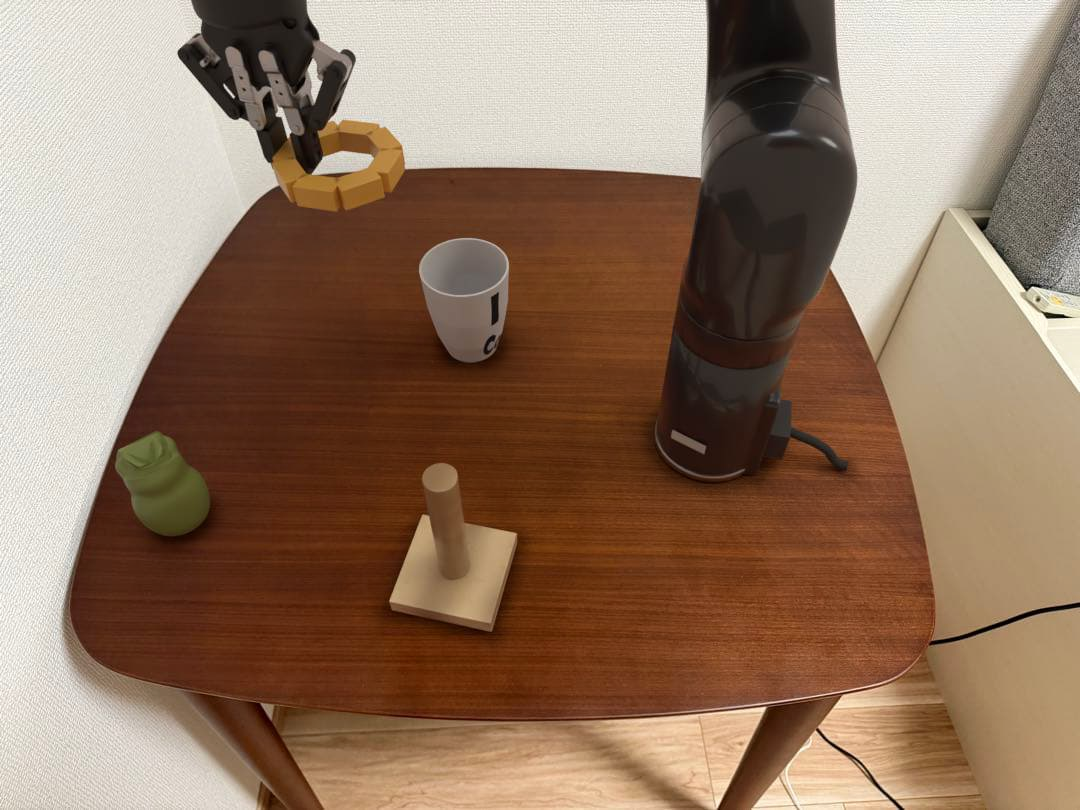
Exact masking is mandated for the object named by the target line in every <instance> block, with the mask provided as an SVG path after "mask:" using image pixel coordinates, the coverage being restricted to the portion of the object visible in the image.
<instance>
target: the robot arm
mask: <svg viewBox="0 0 1080 810" xmlns="http://www.w3.org/2000/svg"><path fill="white" fill-rule="evenodd" d="M190 2H191V5H192V8H193V10H194V13H195V14H196V16H197V17H198V18H199V20H201V24H200V32H196V33H195V34H194V35H192V36H191V38H189V40H188V41H186V42H185V43H184V44H183V45H182V46H181V47H180V48H178V49H177V53H176V54H177V57H178V59H179V60H180V61H181V63H182V64H183V65H184V66H185V67H186V68H187V70H188V71H189V72H190V73H191V74H192V75H193V77H194V78H195V80H196V81H197V82H198V83H199V84H200V85H201V87H202V88H203V89H204V90H205V91H206V93H208V95H209V96H210V97H211V98H212V100H213V101H214V102H215V103H216V104H217V105H218V107H219V108H220V109H221V110H222V111H223V112H224V114H226V116H227V117H228V118H229V119H231V120H233V121H238V120H240V119H242V120H244V121H246V122H248V123H249V125H250V126H251V128H253V129H254V130H255V133H256V136H257V138H258V142H259V145H260V149H261V152H262V155H263V157H264V158H263V159H265V161H266V162H267V164H270V166H271V169H272V170H273V171H274V169H273V166H272V163H273V156H274V155H275V154H276V153H277V152H278V151H279V149H280V148H281V147H282V146H283V144H284V143H285V142H286V141H287V140H288V138H289V137H290V139H291V143H292V146H293V150H294V153H295V157H296V159H297V161H298V163H299V164H300V165H301V167H302V168H303V170H304V171H305V172H306V174H311V175H313V173H314V171H315V170H316V169H317V168H318V166H319V165H320V163H321V162H322V161H323V158H324V157H323V151H322V148H321V144H320V139H319V135H318V131H321V130H323V129H324V128H325V126H326V124H327V122H330V120H331V119H332V117H334V116H335V115H336V113H337V112H338V110H339V106H340V104H341V101H342V98H343V96H344V93H345V91H346V88H347V86H348V83H349V80H350V78H351V75H352V72H353V70H354V67H355V65H356V61H357V58H356V54H354V52H353V51H352V50H350V49H349V48H344V49H342V50H341V51H340V52H339V51H337V50H336V49H334V48H332V46H329V45H328V44H326V43H325V42H323V41H322V40H321V37H320V33H319V30H318V29H317V27H316V26H315V25H314V23H313V21H312V20H311V17H310V15H309V13H308V1H307V0H190ZM705 13H706V14H705V15H706V16H705V17H706V76H705V94H704V95H705V97H704V98H705V99H704V112H703V120H702V128H701V142H700V144H701V146H700V150H701V151H700V186H699V193H698V199H697V205H696V212H695V218H694V223H693V224H694V225H693V230H692V235H691V240H690V246H689V251H688V254H687V256H686V258H685V260H684V261H683V265H682V270H681V277H680V283H679V290H678V295H677V302H676V307H675V315H674V318H673V319H674V320H673V326H672V331H671V338H670V343H669V348H668V354H667V355H668V356H667V361H666V367H665V372H664V373H665V374H664V378H663V383H662V384H663V385H662V390H661V395H660V402H659V408H658V413H657V418H656V420H655V421H656V422H655V424H654V425H655V426H654V434H653V440H654V444H655V447H656V450H657V452H658V454H659V455H660V457H661V458H662V460H663V461H664V462H665V463H666V464H667V465H668V466H669V467H670V468H671V469H673V470H674V471H676V472H677V473H679V474H680V475H682V476H684V477H687V478H690V479H692V480H696V481H700V482H705V483H722V482H723V483H724V482H727V481H732V480H734V479H737V478H739V477H741V476H743V475H747V476H753V477H755V476H756V475H758V471H759V468H760V466H761V463H762V460H763V457H765V458H772V459H776V460H783V458H784V456H785V453H786V451H787V447H788V445H789V442H790V439H791V438H792V439H794V440H796V441H799V442H801V443H804V444H806V445H808V446H810V447H813V448H814V449H816V450H817V451H819V452H821V453H822V454H823V455H824V456H825V457H826V459H827V460H828V462H829V463H830V464H831V465H832V466H833V467H835V468H836V469H838V470H841V471H847V470H848V466H849V461H848V460H843V459H841V458H839V456H838V455H837V453H836V452H835V450H834V449H833V448H832V447H831V446H830V445H829V444H827V442H825V441H823V440H821V439H819V438H817V437H816V436H814V435H811V434H809V433H807V432H805V431H802V430H799V429H798V428H795V427H792V410H793V409H792V408H793V406H792V405H793V401H792V400H788V399H783V398H782V383H783V380H784V376H785V373H786V370H787V367H788V364H789V361H790V358H791V354H792V352H793V348H794V346H795V343H796V340H797V338H798V337H797V336H798V334H799V331H800V327H801V325H802V322H803V319H804V315H805V313H806V310H807V307H808V306H809V305H811V303H813V301H814V300H815V299H816V298H817V297H818V295H819V294H820V293H821V290H822V288H823V287H824V284H825V281H826V279H827V276H828V274H829V271H830V269H831V266H832V264H833V261H834V259H835V256H836V254H837V251H838V249H839V246H840V243H841V241H842V238H843V236H844V233H845V231H846V228H847V225H848V222H849V219H850V216H851V213H852V210H853V207H854V202H855V199H856V193H857V189H858V188H857V187H858V176H859V175H858V165H857V161H856V156H855V149H854V145H853V139H852V134H851V129H850V123H849V119H848V114H847V109H846V105H845V101H844V97H843V93H842V86H841V78H840V69H839V60H838V59H839V57H838V45H837V24H836V23H837V22H836V0H705ZM313 60H314V61H315V64H316V74H317V75H316V76H317V79H318V81H320V82H321V84H320V87H319V89H318V92H317V95H316V98H315V100H314V98H313V95H312V87H313V83H312V78H311V76H310V73H309V67H310V65H311V63H312V61H313ZM225 87H226V88H227V89H226V88H225ZM229 92H230V93H229ZM232 95H233V96H232ZM279 108H281V109H282V110H283V113H284V116H285V119H286V122H287V125H288V128H289V130H290V131H291V132H290V133H289V136H288V134H287V131H286V128H285V124H284V120H283V117H282V116H277V113H278V112H279Z"/></svg>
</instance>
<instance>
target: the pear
mask: <svg viewBox="0 0 1080 810" xmlns="http://www.w3.org/2000/svg"><path fill="white" fill-rule="evenodd" d="M114 466H115V470H116V472H117V474H118V475H119V476H120V478H121V479H122V480H123V482H124V484H125V487H126V488H127V490H128V491H129V493H130V496H131V497H130V498H131V499H130V500H131V507H132V509H133V513H134V515H135V516H136V517H137V518H138V520H139V521H140V522H141V523H142V524H143V525H144V526H145V527H146V528H147V529H148V530H150V531H151V532H153V533H155V534H158V535H160V536H164V537H179V536H183V535H186V534H188V533H191V532H192V531H194V530H195V529H197V528H198V527H200V525H202V523H203V522H204V521H205V520H206V518H207V516H208V514H209V511H210V506H211V495H210V490H209V487H208V484H207V482H206V480H205V479H204V477H203V475H201V473H200V472H199V471H198V470H197V469H196V468H194V467H192V466H191V465H189V464H188V463H187V462H186V459H185V458H184V457H183V456H182V454H181V453H180V452H179V450H178V446H177V444H176V442H175V440H174V439H173V438H172V437H170V436H167V435H164V434H163V433H162V432H161V431H158V430H155V431H153V432H151V433H149V434H147V435H145V436H143V437H141V438H139V439H137V440H135V441H134V442H131V443H129V444H127V445H125V446H123V447H121V448H119V449H118V450H117V453H116V460H115V464H114Z"/></svg>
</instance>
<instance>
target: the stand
mask: <svg viewBox="0 0 1080 810" xmlns="http://www.w3.org/2000/svg"><path fill="white" fill-rule="evenodd" d="M421 484H422V488H423V493H424V498H425V503H426V508H427V513H428V515H427V514H421V517H420V520H419V521H418V525H417V527H416V530H415V533H414V536H413V538H412V540H411V543H410V545H409V548H408V551H407V553H406V555H405V559H404V561H403V563H402V566H401V569H400V572H399V574H398V577H397V579H396V582H395V585H394V586H393V590H392V593H391V595H390V598H389V601H388V602H389V606H390V609H391V611H394V612H399V613H403V614H407V615H412V616H416V617H420V618H425V619H430V620H435V621H439V622H444V623H448V624H454V625H458V626H462V627H467V628H472V629H477V630H482V631H484V632H490V633H491V632H493V629H494V626H495V623H496V619H497V615H498V612H499V608H500V604H501V602H502V597H503V594H504V591H505V587H506V584H507V580H508V577H509V573H510V570H511V565H512V563H513V559H514V556H515V552H516V548H517V545H518V534H517V532H513V531H508V530H502V529H498V528H492V527H487V526H482V525H479V524H478V525H477V524H473V523H467V522H465V516H464V511H463V510H464V509H463V502H462V496H461V488H460V482H459V474H458V471H457V469H456V468H455V467H454V466H452V465H451V464H449V463H446V462H437V463H434V464H431V465H429V466H428V467H427V468H426V469H425V470H424V471H423V473H422V476H421Z"/></svg>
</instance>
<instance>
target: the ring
mask: <svg viewBox="0 0 1080 810" xmlns="http://www.w3.org/2000/svg"><path fill="white" fill-rule="evenodd" d="M380 126H381V125H380V123H374V122H366V121H359V120H349V119H342V120H340V122H339V124H338V123H337V122H336V121H335V120H332V121H328V122H327V124H326V126H325V128H324V129H323V130H321V131H318V135H319V139H320V144H321V148H322V151H323V158H324V157H327V156H330V155H334V154H336V153H340V152H347V153H356V154H364V155H371V157H372V158H373V159H372V160H371V162H370V163H369V165H368V167H366V168H363V169H360V170H356V171H353V172H350V173H348V174H345V175H342V176H339V177H332V176H326V175H319V174H318V175H317V174H306V172H305V171H304V170H303V168H302V167H301V165H300V164H299V163H298V161H297V159H296V157H295V153H294V150H293V146H292V143H291V139H290V136H288V137H287V138H288V140H287V141H286V142H285V143H284V144H283V146H282V147H281V148H280V149H279V151H278V152H277V153H276V154H275V155H274V156H273V163H272V166H273V169H274V170H273V169H272V170H273V172H274V176H275V179H276V182H277V184H278V185H279V187H280V188H281V190H282V192H283V193H284V195H285V196H286V197H287V199H288V200H289V202H290V203H291V204H294V203H296V205H297V206H298V207H300V208H307V209H314V210H322V211H328V212H335V213H336V212H338V211H339V210H340V208H341V207H342V208H343V209H344V210H345V211H350V210H352V209H355V208H358V207H361V206H364V205H366V204H370V203H372V202H376V201H379V200H382V199H384V198H385V197H386V194H385V193H392V192H393V191H394V189H395V187H396V185H397V184H398V183H399V181H400V179H401V178H402V176H403V175H404V173H405V171H406V162H405V161H406V160H405V155H404V149H403V145H402V144H401V142H400V141H399V140H398V139H397V138H396V136H395V135H394V134H392V132H391V131H390V130H389V129H388V128H387V126H383V127H380ZM272 166H271V167H272Z"/></svg>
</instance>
